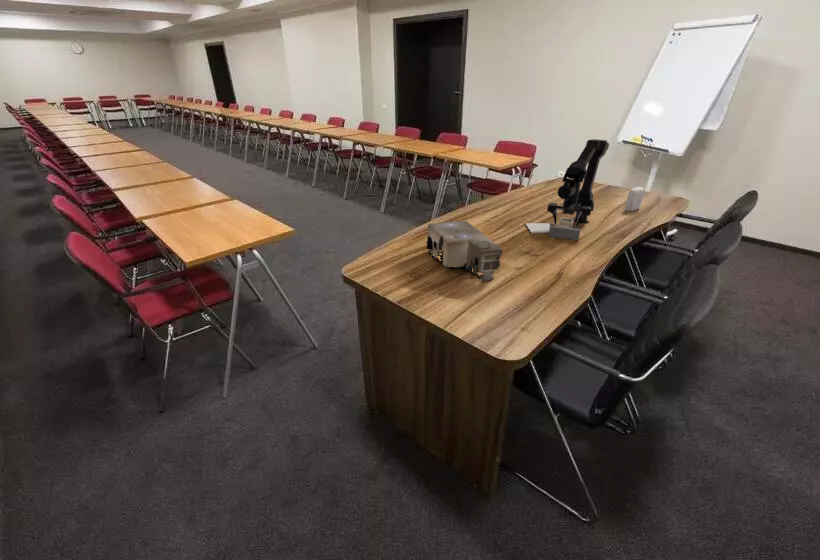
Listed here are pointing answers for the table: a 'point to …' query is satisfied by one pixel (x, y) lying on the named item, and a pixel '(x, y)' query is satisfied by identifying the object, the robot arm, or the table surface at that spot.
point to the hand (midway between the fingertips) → (565, 226)
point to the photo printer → (634, 199)
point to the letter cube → (566, 221)
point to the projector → (464, 248)
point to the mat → (538, 227)
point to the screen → (564, 231)
